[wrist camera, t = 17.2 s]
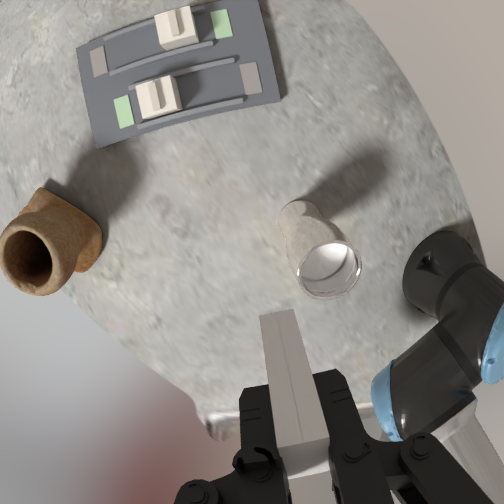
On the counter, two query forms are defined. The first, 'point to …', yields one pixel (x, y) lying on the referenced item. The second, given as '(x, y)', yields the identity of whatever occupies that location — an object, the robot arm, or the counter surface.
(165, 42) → the tab
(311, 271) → the beer glass
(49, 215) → the clay platform pipe
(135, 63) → the switch board
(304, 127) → the counter surface
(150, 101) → the tab
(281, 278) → the counter surface
